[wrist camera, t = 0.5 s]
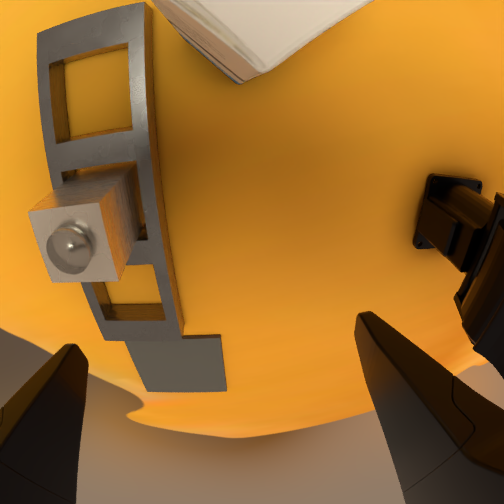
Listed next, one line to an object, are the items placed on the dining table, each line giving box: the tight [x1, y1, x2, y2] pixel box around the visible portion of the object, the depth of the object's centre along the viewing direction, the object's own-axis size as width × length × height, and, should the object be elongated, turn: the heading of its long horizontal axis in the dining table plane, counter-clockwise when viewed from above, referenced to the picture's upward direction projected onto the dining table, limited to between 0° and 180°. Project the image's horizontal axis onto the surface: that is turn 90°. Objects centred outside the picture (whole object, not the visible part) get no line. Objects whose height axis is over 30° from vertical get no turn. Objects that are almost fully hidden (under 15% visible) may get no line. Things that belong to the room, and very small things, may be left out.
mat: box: [125, 335, 227, 392], centre depth 28 cm, size 9×9×1 cm
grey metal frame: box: [37, 2, 184, 341], centre depth 18 cm, size 7×24×2 cm, turn 0°
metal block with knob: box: [28, 161, 145, 283], centre depth 15 cm, size 4×4×8 cm
